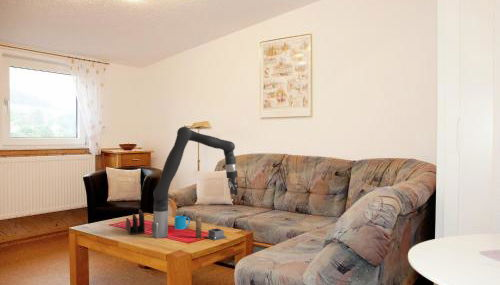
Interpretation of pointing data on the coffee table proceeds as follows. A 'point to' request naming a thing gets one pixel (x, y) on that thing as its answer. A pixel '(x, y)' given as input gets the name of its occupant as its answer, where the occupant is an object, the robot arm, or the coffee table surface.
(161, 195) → the robot arm
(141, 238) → the coffee table surface
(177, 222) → the mug
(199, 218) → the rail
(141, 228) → the letter holder
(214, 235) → the grey square block
